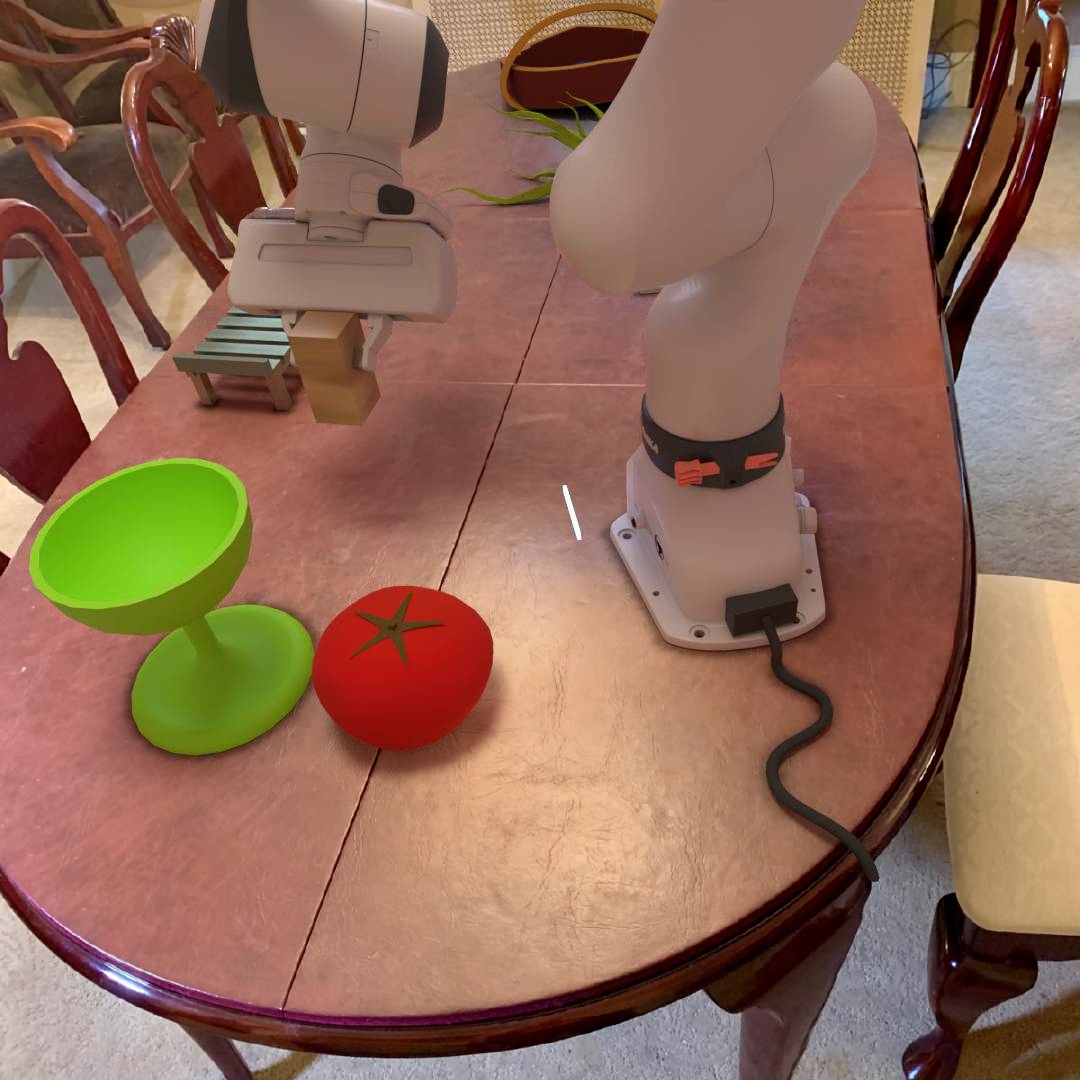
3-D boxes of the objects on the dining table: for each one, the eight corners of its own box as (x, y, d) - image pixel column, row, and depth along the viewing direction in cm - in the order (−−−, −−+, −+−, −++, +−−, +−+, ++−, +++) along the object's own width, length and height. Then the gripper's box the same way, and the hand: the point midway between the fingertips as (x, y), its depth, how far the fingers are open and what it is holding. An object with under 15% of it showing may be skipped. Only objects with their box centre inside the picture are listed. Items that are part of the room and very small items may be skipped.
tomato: (319, 777, 73) (278, 698, 66) (343, 649, 82) (310, 567, 75) (500, 765, 72) (479, 683, 65) (504, 637, 81) (486, 552, 74)
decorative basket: (675, 69, 182) (671, -20, 173) (703, 98, 158) (700, -4, 150) (502, 96, 183) (490, 9, 175) (505, 129, 160) (490, 30, 151)
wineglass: (165, 610, 88) (78, 464, 76) (330, 602, 87) (270, 451, 74) (103, 758, 77) (-10, 614, 64) (292, 751, 75) (213, 603, 63)
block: (336, 393, 87) (309, 307, 80) (381, 396, 86) (357, 309, 79) (316, 423, 84) (286, 335, 77) (362, 426, 82) (336, 338, 76)
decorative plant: (491, 163, 155) (477, 68, 144) (658, 181, 142) (655, 79, 132) (432, 211, 144) (412, 112, 134) (607, 235, 132) (599, 129, 121)
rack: (285, 416, 109) (265, 362, 104) (195, 410, 112) (171, 357, 107) (342, 337, 120) (326, 284, 115) (259, 333, 123) (240, 281, 118)
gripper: (221, 194, 80) (205, 355, 80) (445, 196, 75) (428, 368, 75) (261, 219, 86) (246, 369, 86) (470, 222, 81) (455, 382, 81)
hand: (332, 369), depth 81 cm, fingers closed on block, 4 cm apart
